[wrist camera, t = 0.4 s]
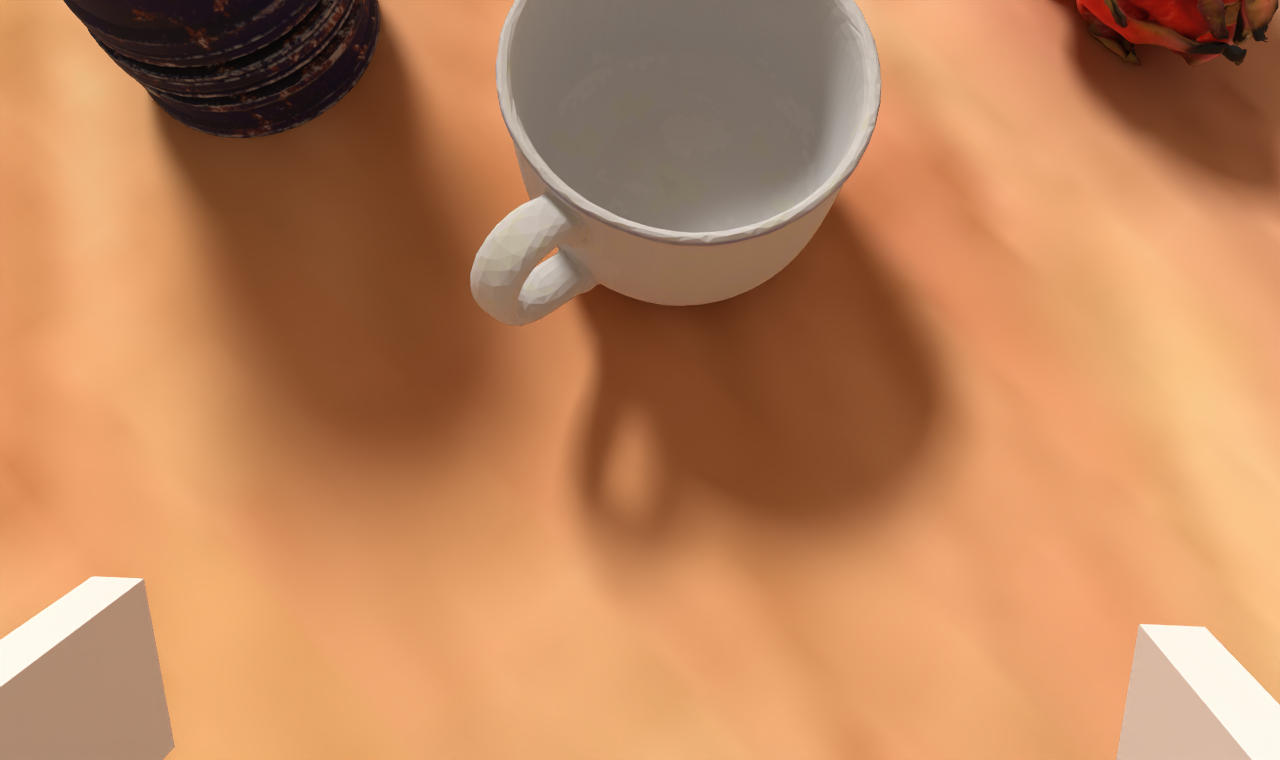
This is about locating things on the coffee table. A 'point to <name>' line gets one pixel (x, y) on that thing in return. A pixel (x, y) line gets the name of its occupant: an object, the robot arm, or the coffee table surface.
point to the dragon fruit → (1179, 26)
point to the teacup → (672, 145)
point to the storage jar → (238, 56)
